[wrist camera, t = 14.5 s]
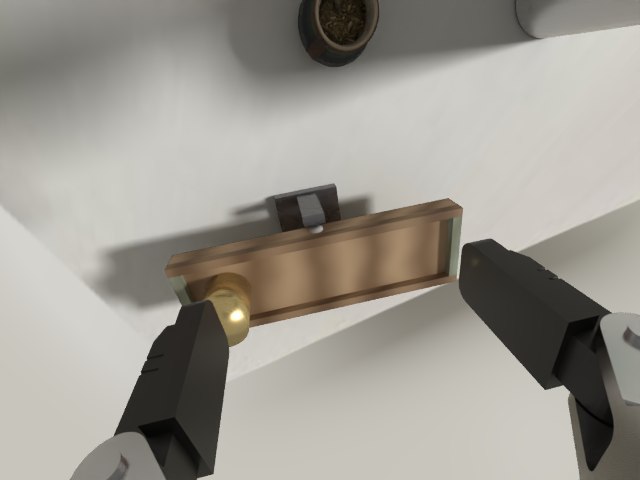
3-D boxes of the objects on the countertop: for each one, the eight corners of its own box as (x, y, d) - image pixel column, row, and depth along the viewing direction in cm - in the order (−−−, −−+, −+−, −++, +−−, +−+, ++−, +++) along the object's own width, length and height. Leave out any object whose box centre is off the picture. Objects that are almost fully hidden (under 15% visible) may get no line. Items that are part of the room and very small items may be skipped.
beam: (448, 196, 35) (463, 206, 32) (443, 269, 40) (456, 282, 37) (172, 253, 33) (163, 268, 30) (203, 322, 38) (199, 340, 35)
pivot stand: (334, 183, 39) (349, 206, 33) (345, 269, 46) (359, 303, 39) (274, 195, 39) (276, 221, 32) (294, 281, 46) (300, 317, 39)
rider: (244, 267, 33) (240, 303, 28) (256, 302, 35) (255, 340, 30) (198, 278, 33) (186, 315, 27) (214, 312, 35) (205, 352, 30)
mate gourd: (332, 83, 34) (354, 84, 25) (278, 30, 31) (281, 10, 22) (377, 25, 32) (417, 4, 23) (323, -38, 29) (346, -90, 20)
